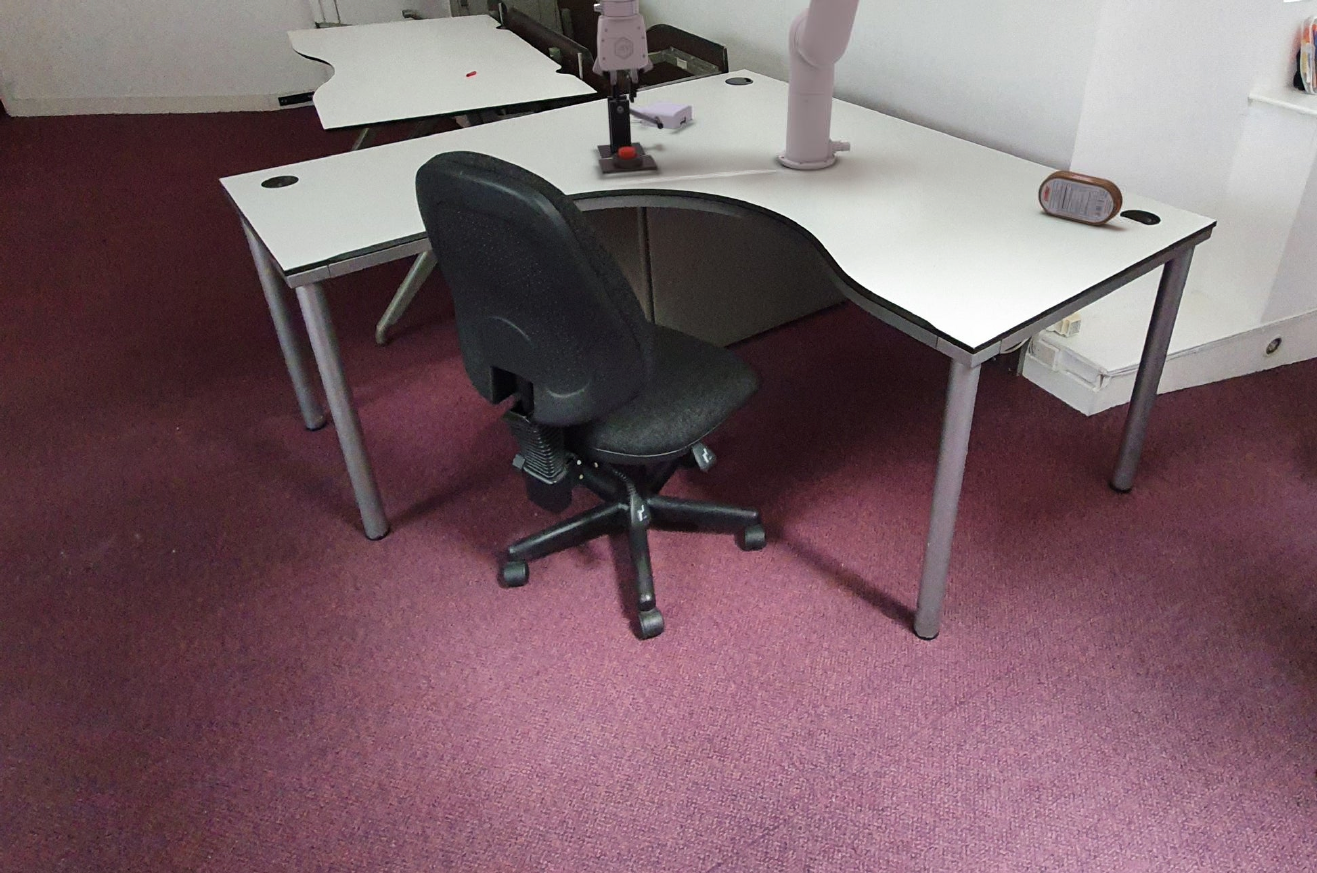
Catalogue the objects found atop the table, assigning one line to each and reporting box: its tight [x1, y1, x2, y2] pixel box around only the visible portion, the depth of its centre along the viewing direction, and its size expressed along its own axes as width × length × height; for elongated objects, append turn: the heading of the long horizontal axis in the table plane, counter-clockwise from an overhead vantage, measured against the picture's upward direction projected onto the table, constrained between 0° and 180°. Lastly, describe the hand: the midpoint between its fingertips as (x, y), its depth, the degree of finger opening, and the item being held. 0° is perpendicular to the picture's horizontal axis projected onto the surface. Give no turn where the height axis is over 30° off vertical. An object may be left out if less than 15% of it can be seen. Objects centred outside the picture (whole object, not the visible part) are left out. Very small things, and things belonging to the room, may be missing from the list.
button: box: [619, 147, 635, 159], centre depth 206 cm, size 4×4×2 cm
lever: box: [613, 99, 664, 130], centre depth 213 cm, size 12×6×2 cm, turn 100°
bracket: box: [597, 94, 646, 159], centre depth 214 cm, size 10×9×13 cm
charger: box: [632, 101, 693, 130], centre depth 235 cm, size 5×9×15 cm
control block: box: [598, 151, 658, 175], centre depth 208 cm, size 12×8×4 cm, turn 99°
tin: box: [1037, 170, 1124, 226], centre depth 176 cm, size 15×3×8 cm, turn 48°
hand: (624, 101), depth 200 cm, fingers closed
